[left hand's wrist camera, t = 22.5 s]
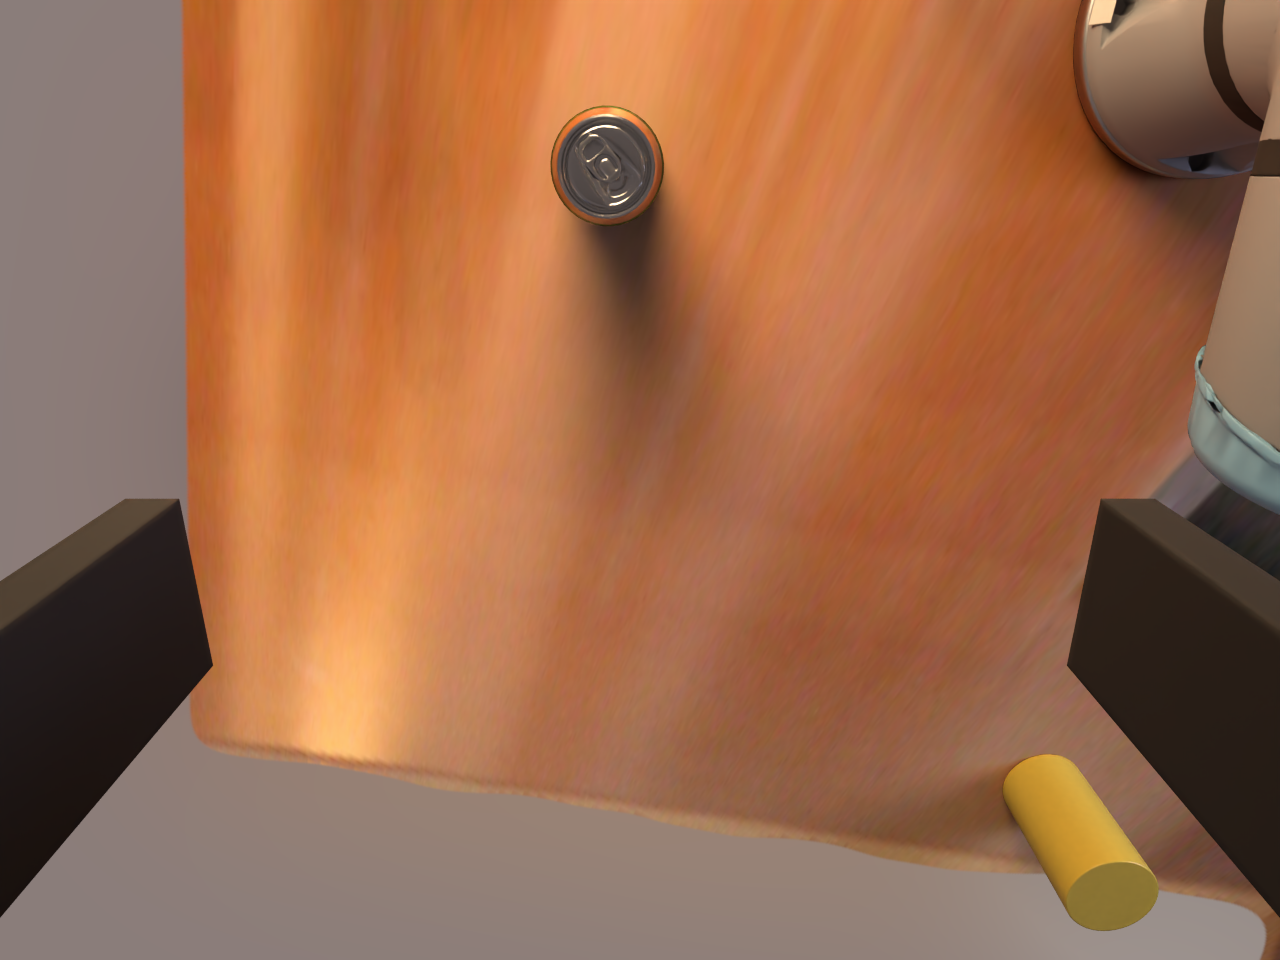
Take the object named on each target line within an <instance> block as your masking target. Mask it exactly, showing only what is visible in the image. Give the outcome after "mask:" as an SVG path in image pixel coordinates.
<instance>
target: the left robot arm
mask: <svg viewBox="0 0 1280 960" xmlns="http://www.w3.org/2000/svg"><path fill="white" fill-rule="evenodd" d="M1073 64H1074V75H1075V82H1076V87H1077V91H1078V96H1079V99H1080V102H1081V104H1082V107H1083V110H1084V112H1085V114H1086V116H1087V119H1088V121H1089V122H1090V124H1091V126H1092V127H1093V129H1094V131H1095V132H1096V133H1097V135H1098V136H1099V137H1100V139H1101V140H1102V141H1103V142H1104V143H1105V144H1106V145H1107V146H1108V147H1109V149H1110V150H1111V151H1113V152H1114V153H1115V154H1116V155H1118V156H1119V157H1120V158H1121V159H1123V160H1124V161H1126V162H1128V163H1129V164H1131V165H1133V166H1135V167H1137V168H1139V169H1141V170H1143V171H1146V172H1149V173H1152V174H1156V175H1160V176H1165V177H1172V178H1187V179H1209V178H1218V177H1225V176H1229V175H1234V174H1239V173H1243V172H1247V171H1251V170H1252V173H1251V175H1252V176H1250V179H1249V182H1248V186H1247V190H1246V194H1245V198H1244V202H1243V205H1242V209H1241V213H1240V217H1239V221H1238V224H1237V228H1236V232H1235V236H1234V240H1233V244H1232V247H1231V251H1230V255H1229V259H1228V263H1227V266H1226V270H1225V274H1224V278H1223V282H1222V286H1221V289H1220V293H1219V297H1218V301H1217V305H1216V309H1215V312H1214V316H1213V320H1212V324H1211V328H1210V331H1209V335H1208V339H1207V343H1206V345H1205V346H1203V347H1202V348H1201V349H1200V351H1199V353H1198V355H1197V357H1196V361H1195V379H1196V386H1195V391H1194V395H1193V400H1192V405H1191V410H1190V414H1189V419H1188V434H1189V438H1190V439H1191V445H1192V447H1193V448H1194V453H1195V455H1196V456H1197V458H1198V459H1199V461H1200V462H1201V463H1202V464H1203V465H1204V467H1205V468H1206V469H1207V470H1208V471H1209V472H1210V473H1211V474H1212V475H1213V476H1215V477H1216V478H1217V479H1218V480H1220V481H1221V482H1222V483H1223V484H1225V485H1226V486H1227V487H1229V488H1230V489H1232V490H1233V491H1235V492H1237V493H1238V494H1240V495H1242V496H1243V497H1245V498H1247V499H1249V500H1250V501H1252V502H1254V503H1256V504H1258V505H1260V506H1262V507H1264V508H1266V509H1268V510H1270V511H1272V512H1274V513H1277V514H1279V515H1280V177H1263V176H1280V0H1082V2H1081V5H1080V9H1079V13H1078V17H1077V21H1076V28H1075V34H1074V47H1073ZM212 666H213V663H212V658H211V653H210V648H209V643H208V638H207V634H206V629H205V624H204V619H203V614H202V609H201V604H200V599H199V594H198V589H197V584H196V580H195V575H194V570H193V565H192V560H191V555H190V550H189V545H188V540H187V535H186V530H185V525H184V521H183V516H182V511H181V506H180V501H179V499H124V500H123V501H121V502H120V503H118V504H117V505H115V506H114V507H112V508H111V509H109V510H108V511H106V512H105V513H103V514H102V515H100V516H99V517H97V518H96V519H94V520H92V521H91V522H89V523H88V524H86V525H85V526H83V527H82V528H80V529H79V530H77V531H76V532H74V533H73V534H71V535H70V536H68V537H67V538H65V539H64V540H62V541H61V542H59V543H58V544H56V545H55V546H53V547H52V548H50V549H48V550H47V551H45V552H44V553H42V554H41V555H39V556H38V557H36V558H35V559H33V560H32V561H30V562H29V563H27V564H26V565H24V566H23V567H21V568H20V569H18V570H17V571H15V572H14V573H12V574H11V575H9V576H8V577H6V578H5V579H3V580H1V581H0V917H1V916H2V915H3V914H4V912H5V911H6V910H7V909H8V908H9V907H10V905H11V904H12V903H13V902H14V901H15V899H16V898H17V897H18V896H19V895H20V894H21V892H22V891H23V890H24V889H25V888H26V886H27V885H28V884H29V883H30V882H31V880H32V879H33V878H34V877H35V876H36V875H37V873H38V872H39V871H40V870H41V869H42V867H43V866H44V865H45V864H46V863H47V861H48V860H49V859H50V858H51V857H52V856H53V854H54V853H55V852H56V851H57V850H58V849H59V847H60V846H61V845H62V844H63V843H64V841H65V840H66V839H67V838H68V837H69V835H70V834H71V833H72V832H73V831H74V829H75V828H76V827H77V826H78V825H79V824H80V822H81V821H82V820H83V819H84V818H85V817H86V815H87V814H88V813H89V812H90V811H91V809H92V808H93V807H94V806H95V805H96V803H97V802H98V801H99V800H100V799H101V798H102V796H103V795H104V794H105V793H106V792H107V790H108V789H109V788H110V787H111V786H112V785H113V783H114V782H115V781H116V780H117V779H118V777H119V776H120V775H121V774H122V773H123V771H124V770H125V769H126V768H127V767H128V766H129V764H130V763H131V762H132V761H133V760H134V758H135V757H136V756H137V755H138V754H139V753H140V751H141V750H142V749H143V748H144V747H145V745H146V744H147V743H148V742H149V741H150V740H151V738H152V737H153V736H154V735H155V734H156V732H157V731H158V730H159V729H160V728H161V726H162V725H163V724H164V723H165V722H166V721H167V719H168V718H169V717H170V716H171V715H172V713H173V712H174V711H175V710H176V709H177V708H178V706H179V705H180V704H181V703H182V701H183V700H184V699H185V698H186V697H187V696H188V694H189V693H190V692H191V691H192V690H193V689H194V687H195V686H196V685H197V684H198V683H199V681H200V680H201V679H202V678H203V677H204V676H205V674H206V673H207V672H208V671H209V670H210V668H211V667H212ZM1067 666H1068V667H1069V668H1070V670H1071V671H1072V672H1073V673H1074V674H1075V676H1076V677H1077V678H1078V679H1079V680H1080V681H1081V683H1082V684H1083V685H1084V686H1085V687H1086V689H1087V690H1088V691H1089V692H1090V693H1091V694H1092V696H1093V697H1094V698H1095V699H1096V700H1097V702H1098V703H1099V704H1100V705H1101V706H1102V708H1103V709H1104V710H1105V711H1106V712H1107V713H1108V715H1109V716H1110V717H1111V718H1112V719H1113V721H1114V722H1115V723H1116V724H1117V725H1118V726H1119V728H1120V729H1121V730H1122V731H1123V732H1124V734H1125V735H1126V736H1127V737H1128V738H1129V740H1130V741H1131V742H1132V743H1133V744H1134V745H1135V747H1136V748H1137V749H1138V750H1139V751H1140V753H1141V754H1142V755H1143V756H1144V757H1145V758H1146V760H1147V761H1148V762H1149V763H1150V764H1151V766H1152V767H1153V768H1154V769H1155V770H1156V771H1157V773H1158V774H1159V775H1160V776H1161V777H1162V779H1163V780H1164V781H1165V782H1166V783H1167V785H1168V786H1169V787H1170V788H1171V789H1172V790H1173V792H1174V793H1175V794H1176V795H1177V796H1178V798H1179V799H1180V800H1181V801H1182V802H1183V803H1184V805H1185V806H1186V807H1187V808H1188V809H1189V811H1190V812H1191V813H1192V814H1193V815H1194V817H1195V818H1196V819H1197V820H1198V821H1199V822H1200V824H1201V825H1202V826H1203V827H1204V828H1205V830H1206V831H1207V832H1208V833H1209V834H1210V835H1211V837H1212V838H1213V839H1214V840H1215V841H1216V843H1217V844H1218V845H1219V846H1220V847H1221V849H1222V850H1223V851H1224V852H1225V853H1226V854H1227V856H1228V857H1229V858H1230V859H1231V860H1232V862H1233V863H1234V864H1235V865H1236V866H1237V867H1238V869H1239V870H1240V871H1241V872H1242V873H1243V875H1244V876H1245V877H1246V878H1247V879H1248V880H1249V882H1250V883H1251V884H1252V885H1253V886H1254V888H1255V889H1256V890H1257V891H1258V892H1259V894H1260V895H1261V896H1262V897H1263V898H1264V899H1265V901H1266V902H1267V903H1268V904H1269V905H1270V907H1271V908H1272V909H1273V910H1274V911H1275V912H1276V914H1277V915H1278V916H1279V917H1280V581H1279V580H1277V579H1276V578H1274V577H1272V576H1271V575H1269V574H1268V573H1266V572H1265V571H1263V570H1262V569H1260V568H1259V567H1257V566H1256V565H1254V564H1253V563H1251V562H1250V561H1248V560H1247V559H1245V558H1244V557H1242V556H1241V555H1239V554H1238V553H1236V552H1235V551H1233V550H1232V549H1230V548H1228V547H1227V546H1225V545H1224V544H1222V543H1221V542H1219V541H1218V540H1216V539H1215V538H1213V537H1212V536H1210V535H1209V534H1207V533H1206V532H1204V531H1203V530H1201V529H1200V528H1198V527H1197V526H1195V525H1194V524H1192V523H1191V522H1189V521H1188V520H1186V519H1184V518H1183V517H1181V516H1180V515H1178V514H1177V513H1175V512H1174V511H1172V510H1171V509H1169V508H1168V507H1166V506H1165V505H1163V504H1162V503H1160V502H1159V501H1157V500H1156V499H1101V501H1100V506H1099V511H1098V516H1097V521H1096V525H1095V530H1094V535H1093V540H1092V545H1091V550H1090V555H1089V560H1088V565H1087V570H1086V575H1085V580H1084V584H1083V589H1082V594H1081V599H1080V604H1079V609H1078V614H1077V619H1076V624H1075V629H1074V634H1073V638H1072V643H1071V648H1070V653H1069V658H1068V663H1067Z"/></svg>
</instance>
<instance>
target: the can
mask: <svg viewBox="0 0 1280 960" xmlns="http://www.w3.org/2000/svg"><path fill="white" fill-rule="evenodd" d="M1003 797H1004V800H1005V802H1006V804H1007V806H1008V808H1009V809H1010V811H1011V813H1012V815H1013V817H1014V818H1015V820H1016V822H1017V824H1018V825H1019V827H1020V829H1021V831H1022V833H1023V834H1024V836H1025V838H1026V840H1027V841H1028V843H1029V845H1030V847H1031V848H1032V850H1033V852H1034V854H1035V856H1036V857H1037V859H1038V861H1039V863H1040V864H1041V866H1042V868H1043V870H1044V872H1045V873H1046V875H1047V877H1048V879H1049V880H1050V882H1051V884H1052V886H1053V887H1054V889H1055V891H1056V893H1057V895H1058V896H1059V898H1060V900H1061V902H1062V903H1063V905H1064V907H1065V909H1066V911H1067V912H1068V914H1069V916H1070V917H1071V918H1072V919H1073V920H1074V921H1075V922H1076V923H1078V924H1079V925H1081V926H1083V927H1085V928H1088V929H1092V930H1097V931H1110V930H1116V929H1121V928H1124V927H1127V926H1129V925H1131V924H1133V923H1135V922H1137V921H1138V920H1140V919H1141V918H1143V917H1144V916H1145V915H1146V914H1147V913H1148V912H1149V911H1150V910H1151V909H1152V907H1153V906H1154V904H1155V902H1156V900H1157V897H1158V882H1157V880H1156V877H1155V876H1154V874H1153V873H1152V871H1151V870H1150V869H1149V867H1148V866H1147V864H1146V863H1145V862H1144V860H1143V859H1142V857H1141V856H1140V855H1139V853H1138V852H1137V850H1136V849H1135V848H1134V846H1133V845H1132V843H1131V842H1130V841H1129V839H1128V838H1127V836H1126V835H1125V834H1124V832H1123V831H1122V829H1121V828H1120V827H1119V825H1118V824H1117V822H1116V821H1115V820H1114V818H1113V817H1112V815H1111V814H1110V813H1109V811H1108V810H1107V808H1106V807H1105V806H1104V804H1103V803H1102V801H1101V800H1100V799H1099V797H1098V796H1097V794H1096V793H1095V792H1094V790H1093V789H1092V787H1091V786H1090V785H1089V783H1088V782H1087V780H1086V779H1085V778H1084V776H1083V775H1082V773H1081V772H1080V771H1079V769H1078V768H1077V767H1076V765H1075V764H1074V763H1073V762H1071V761H1070V760H1068V759H1066V758H1064V757H1061V756H1058V755H1051V754H1045V755H1037V756H1034V757H1031V758H1028V759H1026V760H1024V761H1022V762H1021V763H1019V764H1018V765H1016V766H1015V767H1014V768H1013V769H1012V770H1011V771H1010V772H1009V774H1008V775H1007V777H1006V779H1005V781H1004V785H1003Z"/></svg>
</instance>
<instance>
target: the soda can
mask: <svg viewBox="0 0 1280 960" xmlns="http://www.w3.org/2000/svg"><path fill="white" fill-rule="evenodd" d="M663 173H664V161H663V154H662V150H661V147H660V144H659V141H658V139H657V137H656V135H655V134H654V132H653V131H652V129H651V128H650V127H649V125H648V124H647V123H646V122H645V121H644V120H643V119H641V118H640V117H639V116H638V115H636V114H634V113H632V112H631V111H629V110H626V109H623V108H620V107H615V106H598V107H593V108H590V109H587V110H584V111H583V112H581V113H579V114H577V115H576V116H574V117H573V118H572V119H571V120H569V122H568V123H567V124H566V125H565V126H564V127H563V128H562V130H561V132H560V133H559V135H558V137H557V139H556V141H555V143H554V147H553V150H552V155H551V175H552V181H553V184H554V187H555V190H556V192H557V194H558V196H559V198H560V199H561V201H562V202H563V203H564V205H565V206H566V207H567V208H568V209H569V210H570V211H571V212H572V213H573V214H574V215H576V216H577V217H578V218H580V219H582V220H584V221H586V222H589V223H591V224H594V225H600V226H616V225H621V224H624V223H627V222H630V221H632V220H634V219H636V218H637V217H639V216H640V215H641V214H643V213H644V212H645V211H646V210H647V209H648V208H649V207H650V205H651V204H652V203H653V201H654V200H655V198H656V196H657V194H658V192H659V190H660V187H661V184H662V179H663Z"/></svg>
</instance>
